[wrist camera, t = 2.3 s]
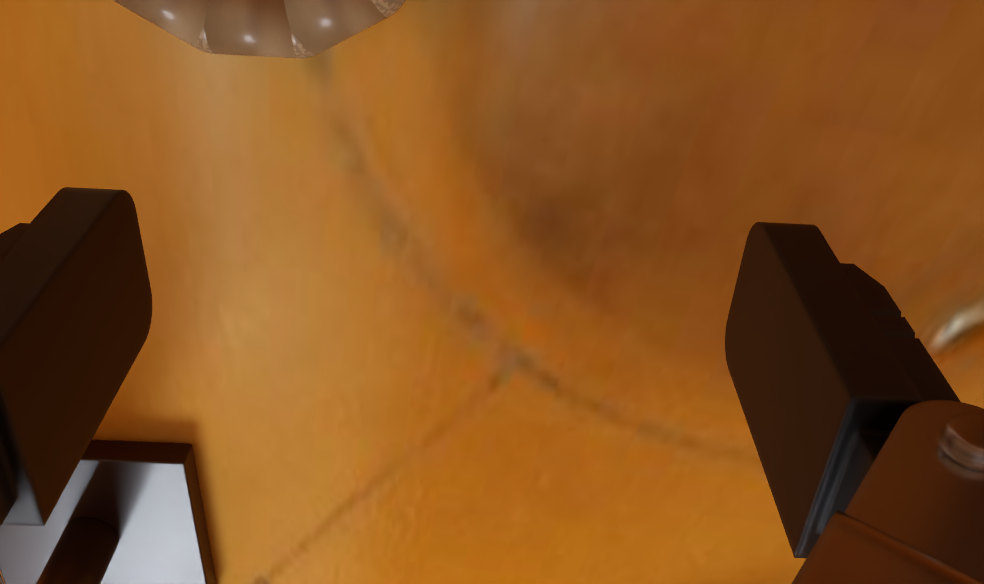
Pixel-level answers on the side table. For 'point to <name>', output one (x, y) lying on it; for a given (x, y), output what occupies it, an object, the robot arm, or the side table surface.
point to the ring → (263, 23)
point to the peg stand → (118, 523)
